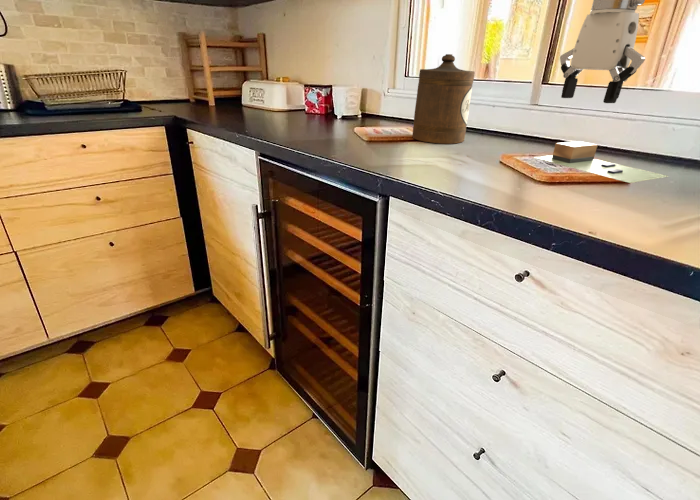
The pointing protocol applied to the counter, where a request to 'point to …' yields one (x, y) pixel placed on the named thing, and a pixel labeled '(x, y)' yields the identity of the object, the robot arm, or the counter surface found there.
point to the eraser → (574, 151)
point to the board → (596, 168)
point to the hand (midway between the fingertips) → (587, 100)
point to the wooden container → (442, 103)
